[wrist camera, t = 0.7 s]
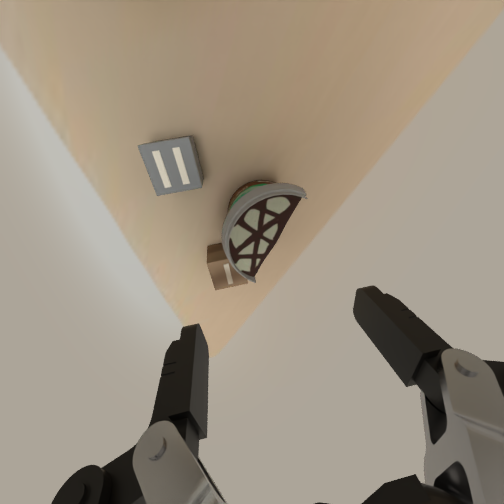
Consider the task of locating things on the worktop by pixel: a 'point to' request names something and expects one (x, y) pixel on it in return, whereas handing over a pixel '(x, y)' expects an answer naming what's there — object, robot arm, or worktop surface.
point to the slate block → (172, 165)
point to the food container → (257, 222)
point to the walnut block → (222, 268)
